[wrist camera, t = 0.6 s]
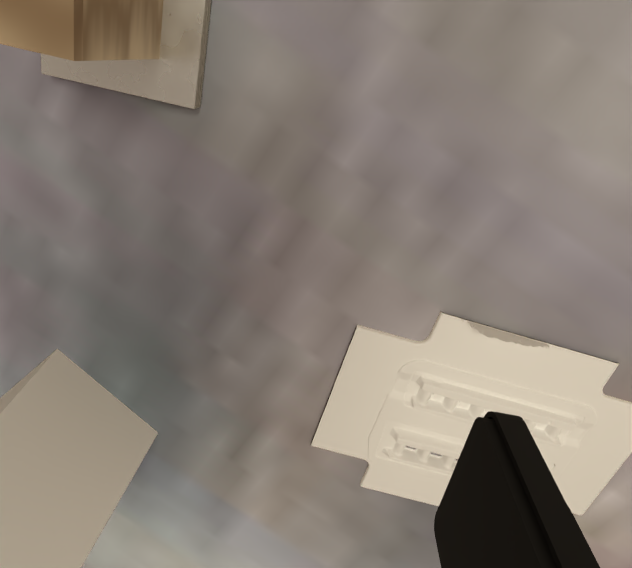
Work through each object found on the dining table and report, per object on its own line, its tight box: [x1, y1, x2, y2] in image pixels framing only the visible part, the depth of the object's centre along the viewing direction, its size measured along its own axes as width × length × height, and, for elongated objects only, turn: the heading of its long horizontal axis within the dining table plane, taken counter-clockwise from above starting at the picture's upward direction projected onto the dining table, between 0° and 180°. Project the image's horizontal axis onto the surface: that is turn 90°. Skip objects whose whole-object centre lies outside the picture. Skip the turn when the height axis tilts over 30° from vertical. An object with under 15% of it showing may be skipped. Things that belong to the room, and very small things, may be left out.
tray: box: [311, 311, 632, 515], centre depth 43 cm, size 20×28×4 cm
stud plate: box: [41, 0, 212, 109], centre depth 28 cm, size 10×10×6 cm
